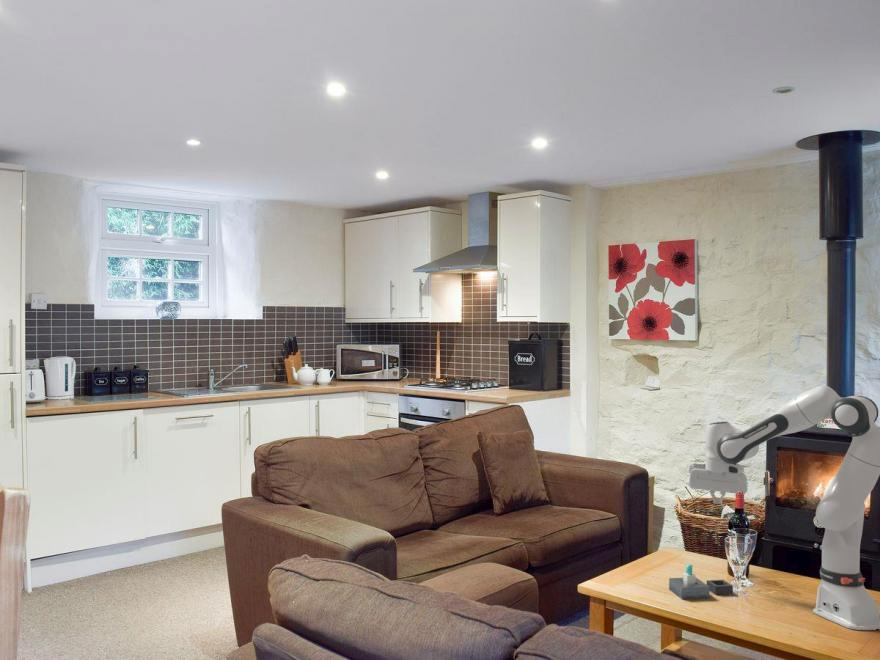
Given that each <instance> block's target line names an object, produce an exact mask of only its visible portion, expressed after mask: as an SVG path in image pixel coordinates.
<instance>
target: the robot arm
mask: <svg viewBox="0 0 880 660" xmlns="http://www.w3.org/2000/svg"><path fill="white" fill-rule="evenodd" d="M878 418H879V408H878V406H877V404H876V403H875V402H874V401H873V400H872V399H871V398H869V397H867V396H863V395H845V396H844V395H843V396H842V397H841V396H840V395H839V394H838V393H837V391H835V390H834V389H833V388H831V387H830V386H828V385H819V386H817V387H814V388H811V389H808V390H806V391H804V392H802V393H800V394H798V395H797V396H795V397H793V398H791V399H790V400H788V401H787V402H785V403H784V404H783V405H782V406H780V407H779V408H778V409H777V410H775V411H774V412H773V413H772V414H771V415H769V416H767V418H764V420H762V421H761V422H759V423H756V424H754V425H753V426H751V427H750V428H748V429H746V430H740V429H738V428H736V427H734V425H732V424H731V423H730V422H729V421H716V422H711V423H710V424H708V425H707V427H706V431H705V448H706V453H705V457H704V458H705V461H704V462H705V463H695V462H694V463H692V464H690V465H689V466H688V467H689V468H688V473H689V480H688V486H689V488H691V489H693V490H703V491H704V490H705V491H709V493H710V496H711V498H712V499H713V500H712V503H713V504H718V505H722V504H723V499H724V497H725V496H726V493H728V494H738V495H745V494H746V493H748V489H749V488H748V478H747V475H746V473H744V471H745V467H744V465H742V464H739V463H740V462H742V461H746V460H749V459H751V458H753V457H755V456H756V455H757V454H758V453H759V449H760V445H762V444H764V443H765V442H767V441H769V440H771V439H773V438H776V437H780V436H784V435H789V434H794V433H798V432H801V431H806V430H808V429H810V428H812V427H814V426H816V425H817V424H820V423H821V422H823V421H825V420H827V419H831V420H832V421H833V424H834V425H836V426H837V428H839V429H840V430H841V431H843V432H845V434H847V435H848V436H849V437H852V440H851V443H850V445H849V447H848V449H847V451H846V453H845V455H844V458H843V461H842V462H841V464H840V467H839V469H838V470H837V473H836V474H835V476H833V477H834V478H833V479H832V481H831V483H830V484H828V485H829V486H828V487H827V489H826V491H825V492H824V494H823V496H822V498H821V499H820V501H819V503H818V505H817V506H816V510H815V517H816V520H817V522H818V523H819V525H820V526H821V527H822V528H824V534H823V539H822V542H821V565H820V569H819V577H820V579H821V580H820V583H819V585H818V587H817V592H816V593H817V594H816V602H815V607H814V608H813V609H812V612H813V613H814V614H815V615H817V616H820V617H822V618H825V619H826V620H829V621H831V622H833V623H836V624H838V625H840V626H842V627H844V628H847V629H850V630H857V631H872V630H873V631H877V630H876V629H879V630H880V608H879V605H878V602H877V599H874V598H873V596H872V595H871V594H870V592H869V591H868V590H867V589H866V588H865V585H864V582H866V578H865V577H863V575H862V572H861V571H860V569H861V568H860V567H861V566H860V565H861V564H860V563H861V562H860V561H861V560H860V559H861V556H860V555H861V553H860V551H861V540H862V536H863V529H864V528H863V527H864V520H865V519H864V518H865V511H866V503H865V502H866V500H867V499H868V497H869V496H870V494H871V492H872V491H873V489H874V488H875V485H876V484H877V482H878V480H879V477H880V426H878V425H877V424H876V422H877V419H878ZM738 491H743V494H742V492H740V493H741V494H739V492H738ZM716 492H720V495H721V496H720V497H716V495H715V493H716Z"/></svg>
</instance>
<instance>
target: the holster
mask: <svg viewBox="0 0 880 660" xmlns="http://www.w3.org/2000/svg"><path fill="white" fill-rule="evenodd" d="M706 585H708V586H709V592H711V593H712V594H714V595H715V596H721V595H723V596H724V595H733V594H734V593H733V590H734V589H733V588H734V585H732V584H731V583H729V582H728V581H726V580H725V579H712V580H711V579H710V580H707V579H706Z"/></svg>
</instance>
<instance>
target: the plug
mask: <svg viewBox="0 0 880 660" xmlns="http://www.w3.org/2000/svg"><path fill="white" fill-rule="evenodd" d="M685 566H686V568H685V571H686V572H682V573H683V575H682V576H683V577H682V578H683V583H684V584H685V585H695V577H696V574H694V573H693V565H692V564H686V565H685Z"/></svg>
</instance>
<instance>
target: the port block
mask: <svg viewBox="0 0 880 660" xmlns="http://www.w3.org/2000/svg"><path fill="white" fill-rule="evenodd" d="M668 590H669V591H671V592H672V593H673V594H674V595H676V596H677V597H678V598H679V599H681V600H693V599H694V600H698V599H700V600H701V599H710V591H709V586H708V585H707V583H705V582H703V581H702V580H700V579H699V578H697V577H696V576H695V585H685V584H684V583H683V577H672V578H671V577H670V578H668Z"/></svg>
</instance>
